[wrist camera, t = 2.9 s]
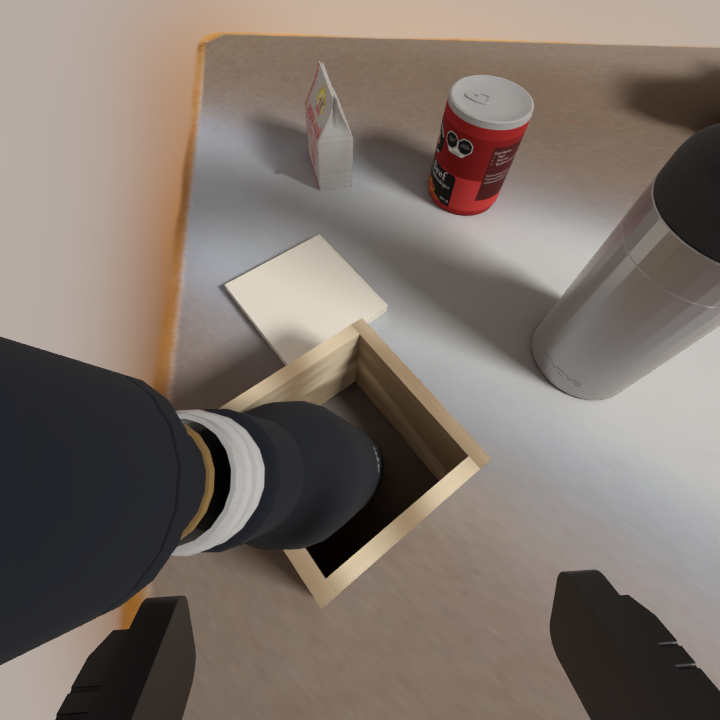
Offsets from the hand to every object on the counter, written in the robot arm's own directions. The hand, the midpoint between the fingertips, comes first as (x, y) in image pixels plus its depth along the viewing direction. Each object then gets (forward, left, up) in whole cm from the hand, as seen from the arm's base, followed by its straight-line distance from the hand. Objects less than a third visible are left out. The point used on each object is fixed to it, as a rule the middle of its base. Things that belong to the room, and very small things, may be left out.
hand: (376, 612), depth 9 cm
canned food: (-35, -24, -23) cm, 48 cm away
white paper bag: (-25, -36, -23) cm, 50 cm away
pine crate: (-5, -7, -23) cm, 25 cm away
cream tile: (-12, -22, -23) cm, 34 cm away
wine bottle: (-5, -7, -22) cm, 24 cm away
